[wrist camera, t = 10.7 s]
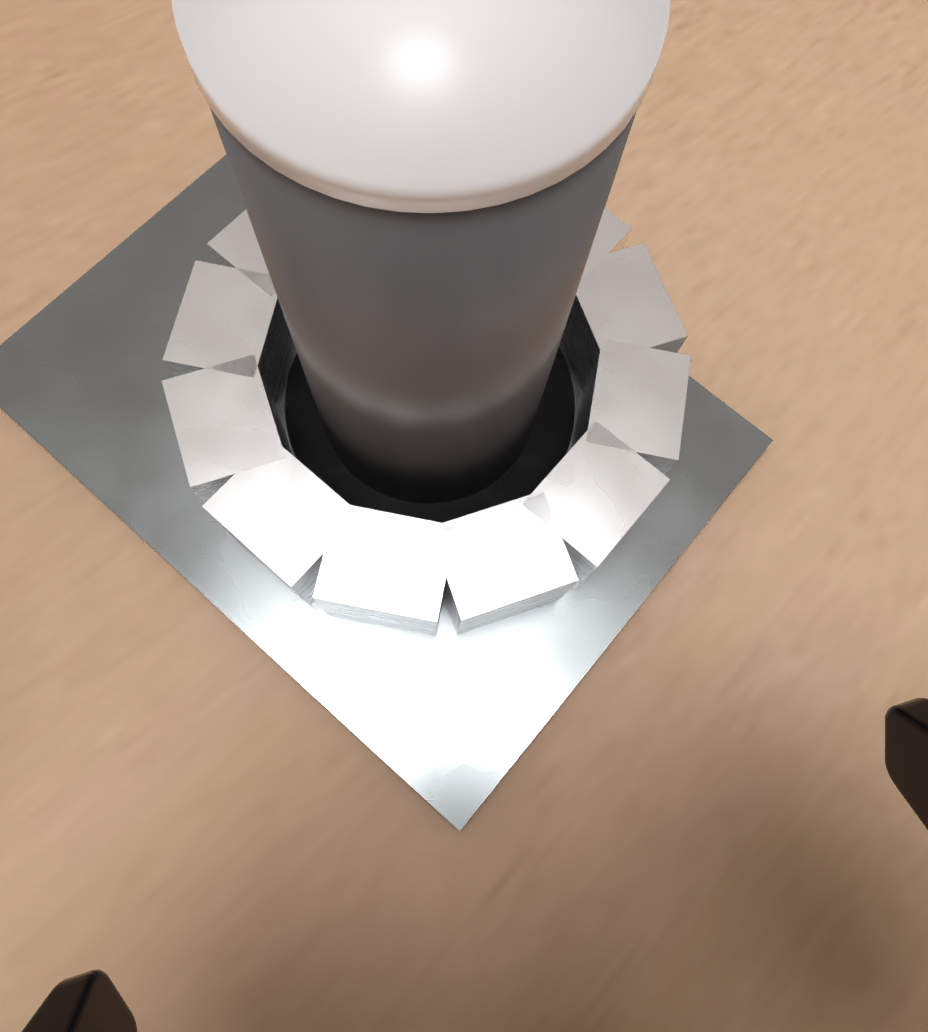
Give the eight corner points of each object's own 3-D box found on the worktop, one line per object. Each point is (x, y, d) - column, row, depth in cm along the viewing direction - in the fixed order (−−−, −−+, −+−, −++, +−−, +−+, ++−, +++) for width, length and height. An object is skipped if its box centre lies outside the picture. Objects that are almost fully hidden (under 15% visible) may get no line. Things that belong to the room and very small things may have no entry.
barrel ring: (779, 429, 20) (836, 379, 17) (458, 829, 17) (465, 848, 14) (325, 84, 22) (310, -10, 19) (-26, 382, 19) (-103, 322, 16)
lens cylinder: (563, 345, 19) (723, -122, 9) (495, 536, 18) (586, 256, 7) (367, 278, 20) (291, -253, 9) (284, 461, 18) (80, 88, 8)
